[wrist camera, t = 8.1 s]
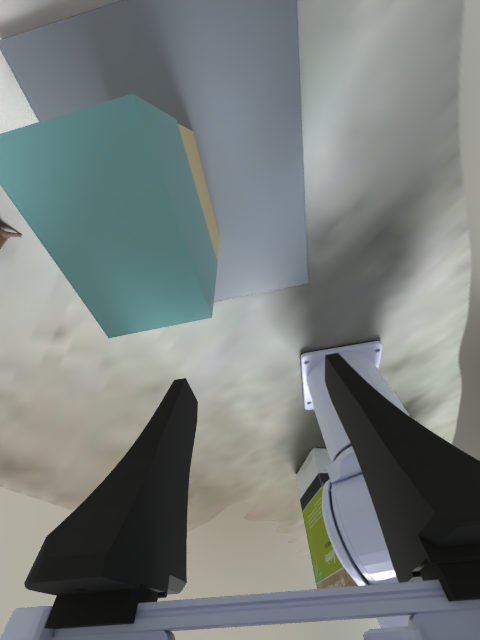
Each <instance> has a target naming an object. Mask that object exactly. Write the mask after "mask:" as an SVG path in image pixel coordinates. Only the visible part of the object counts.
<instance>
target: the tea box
mask: <svg viewBox="0 0 480 640" xmlns="http://www.w3.org/2000/svg"><path fill="white" fill-rule="evenodd" d="M331 463H333V462H332V461H331V459H330V457H329V454H328V451H327V449H325V448H312V450H311V452H310V453H309V455H308V456H307V458H306V460H305V461H304V463H303V465H302V466H301V468H300V470H299V471H298V473H297V475H296V480H297V485H298V491H299V496H300V502H301V507H302V512H303V518H304V523H305V528H306V533H307V539H308V544H309V549H310V554H311V559H312V565H313V570H314V575H315V580H316V585H317V589H326V588H339V587H352V586H358V585H357V584H356V582H355V581H354V580H353V578H352V577H351V576H350V575H349V573H348V572H347V571H346V570H345V568H344V567H343V565H342V564H341V562H340V560H339V559H338V557H337V555H336V553H335V551H334V549H333V547H332V544H331V542H330V539H329V536H328V533H327V530H326V527H325V523H324V518H323V513H322V493H323V487H324V484H325V483H326V482H327V481H328V480H330V478H329V475H328V471H327V468H326V466H327V465H329V464H331Z"/></svg>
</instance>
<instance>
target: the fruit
mask: <svg viewBox="0 0 480 640" xmlns="http://www.w3.org/2000/svg"><path fill="white" fill-rule="evenodd" d="M21 235H22V234H20V233H11V232H6V231H4V230H2V229H0V249H1V247H2V246H3V244H4V243H5V242H6V240H7V239H8V238H10V237H21Z"/></svg>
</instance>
